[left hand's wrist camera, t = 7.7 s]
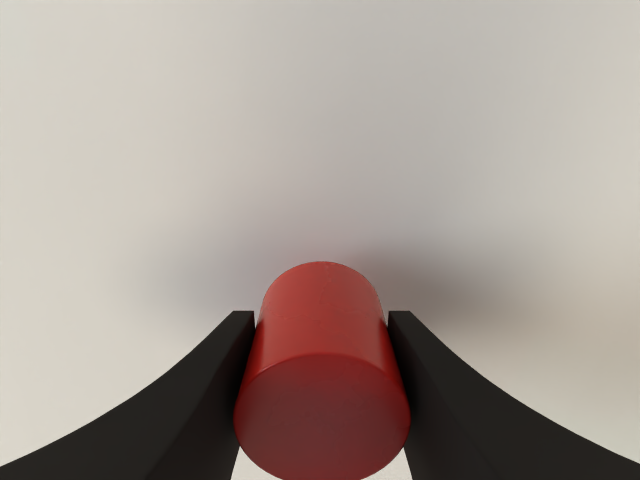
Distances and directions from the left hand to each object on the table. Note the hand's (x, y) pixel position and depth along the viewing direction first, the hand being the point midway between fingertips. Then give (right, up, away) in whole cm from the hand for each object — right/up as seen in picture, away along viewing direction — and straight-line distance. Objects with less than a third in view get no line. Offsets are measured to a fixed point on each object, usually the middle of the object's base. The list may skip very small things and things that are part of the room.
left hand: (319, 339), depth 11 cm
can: (0, +1, +1) cm, 1 cm away
